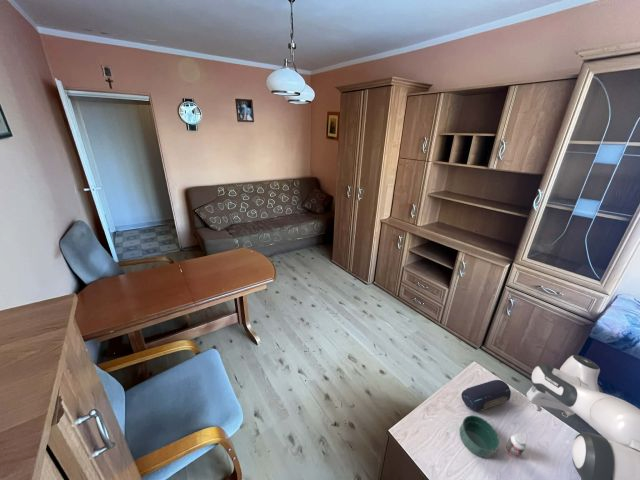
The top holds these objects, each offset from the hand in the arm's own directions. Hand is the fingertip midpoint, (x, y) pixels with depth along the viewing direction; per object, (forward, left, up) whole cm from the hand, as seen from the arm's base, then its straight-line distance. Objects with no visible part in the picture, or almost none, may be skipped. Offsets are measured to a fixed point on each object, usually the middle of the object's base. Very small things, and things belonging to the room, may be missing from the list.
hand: (550, 412), depth 106 cm
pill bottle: (-3, +7, -25) cm, 26 cm away
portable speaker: (+19, +9, -25) cm, 33 cm away
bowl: (0, +21, -25) cm, 33 cm away
